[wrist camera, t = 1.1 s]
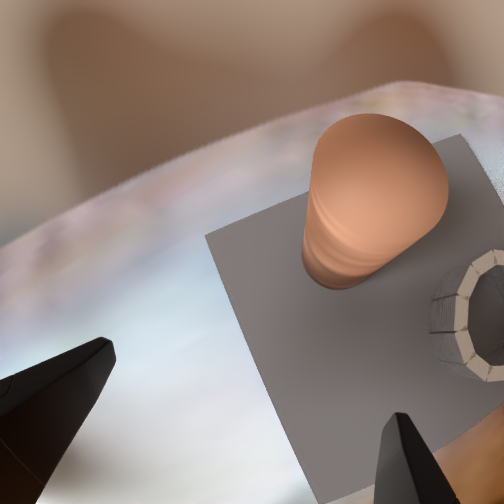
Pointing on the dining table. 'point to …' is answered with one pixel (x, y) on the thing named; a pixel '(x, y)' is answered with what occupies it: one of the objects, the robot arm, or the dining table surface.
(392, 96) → the dining table surface
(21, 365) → the dining table surface
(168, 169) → the dining table surface
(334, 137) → the terracotta plug
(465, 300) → the stone sleeve
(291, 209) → the charcoal mat
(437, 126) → the dining table surface
